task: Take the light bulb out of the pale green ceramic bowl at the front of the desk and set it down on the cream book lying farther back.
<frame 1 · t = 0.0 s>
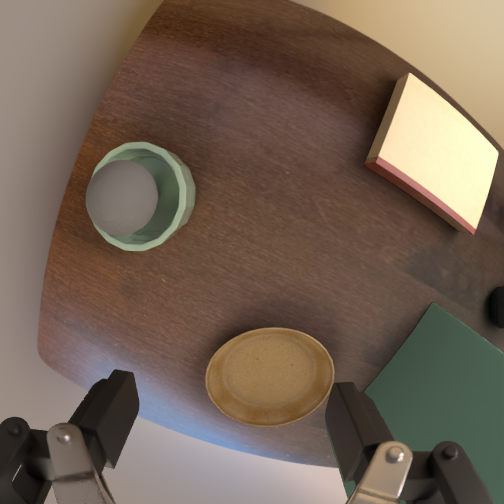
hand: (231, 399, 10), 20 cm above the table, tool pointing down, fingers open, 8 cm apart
plant saucer: (269, 370, 33), on the table
book: (434, 156, 28), on the table
box: (420, 391, 35), on the table
light bulb: (149, 195, 28), resting on bowl
bowl: (150, 195, 28), on the table
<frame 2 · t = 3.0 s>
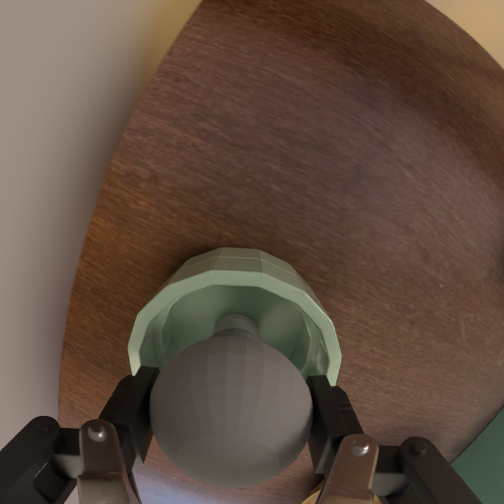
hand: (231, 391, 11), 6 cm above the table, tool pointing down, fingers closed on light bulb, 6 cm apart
box: (481, 457, 23), on the table
light bulb: (236, 328, 16), resting on bowl, touching gripper
bowl: (236, 326, 17), on the table
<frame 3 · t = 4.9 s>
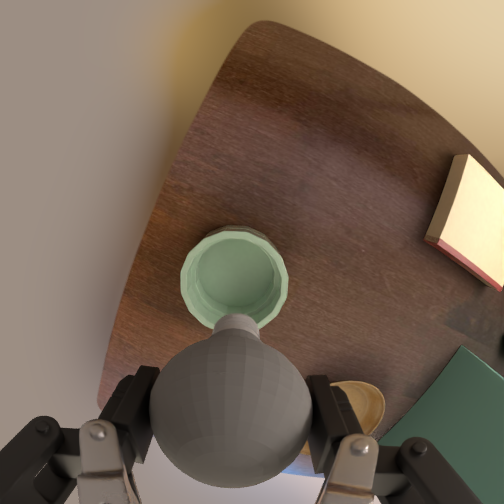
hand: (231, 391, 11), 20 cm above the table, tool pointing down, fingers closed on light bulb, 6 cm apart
plant saucer: (329, 410, 35), on the table
book: (476, 225, 30), on the table
box: (444, 413, 37), on the table
light bulb: (236, 328, 17), point 14 cm above the table, touching gripper
bowl: (235, 270, 30), on the table
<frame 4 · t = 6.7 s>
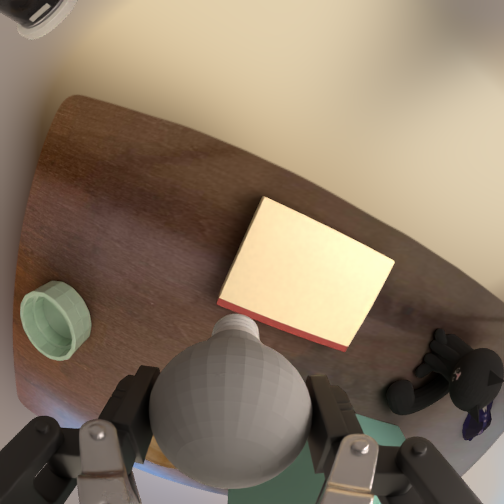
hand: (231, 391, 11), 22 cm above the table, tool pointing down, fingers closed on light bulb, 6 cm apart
figurine: (427, 366, 36), on the table
plant saucer: (169, 431, 38), on the table
book: (305, 274, 32), on the table
box: (314, 455, 40), on the table
light bulb: (235, 329, 17), point 16 cm above the table, touching gripper
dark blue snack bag: (476, 417, 41), on the table
bowl: (64, 312, 33), on the table
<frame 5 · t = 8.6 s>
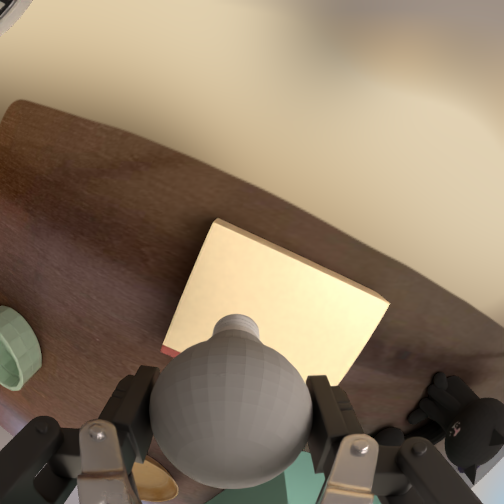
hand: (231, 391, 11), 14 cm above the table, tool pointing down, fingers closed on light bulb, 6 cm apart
figurine: (422, 410, 29), on the table
plant saucer: (133, 464, 31), on the table
book: (273, 317, 26), on the table
box: (291, 495, 33), on the table
light bulb: (236, 329, 17), point 9 cm above the table, touching gripper
bowl: (17, 339, 26), on the table
when the fingers open (9 cm above the table, at t = 10.5 s): light bulb stays where it is, resting on book.
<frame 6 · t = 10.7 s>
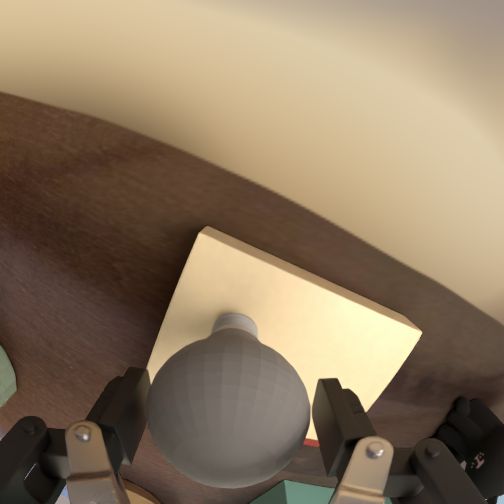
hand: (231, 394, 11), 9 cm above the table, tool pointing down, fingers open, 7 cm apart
figurine: (440, 436, 24), on the table
plant saucer: (122, 492, 25), on the table
book: (278, 349, 20), on the table
light bulb: (234, 328, 16), point 3 cm above the table, touching book
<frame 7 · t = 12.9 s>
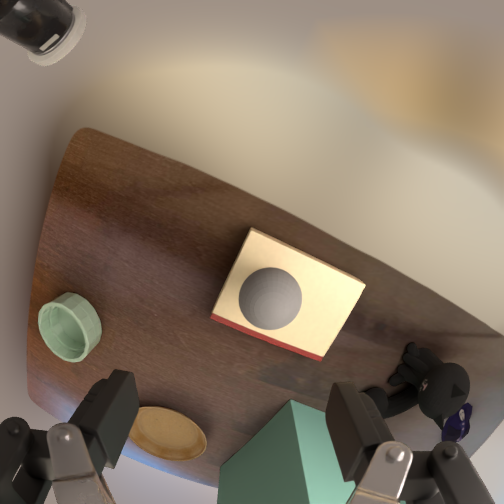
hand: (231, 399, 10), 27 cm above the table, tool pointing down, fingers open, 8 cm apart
figurine: (401, 376, 41), on the table
plant saucer: (167, 426, 43), on the table
book: (286, 294, 38), on the table
box: (297, 453, 45), on the table
light bulb: (266, 277, 34), point 3 cm above the table, touching book
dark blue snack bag: (455, 425, 46), on the table
bowl: (77, 320, 39), on the table
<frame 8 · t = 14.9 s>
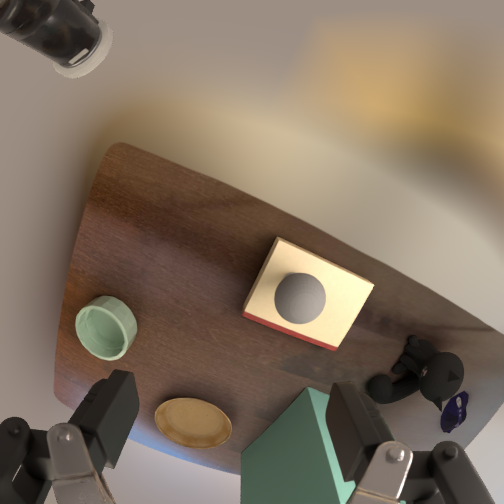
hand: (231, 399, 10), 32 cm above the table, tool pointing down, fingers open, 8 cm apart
figurine: (404, 365, 47), on the table
plant saucer: (194, 416, 49), on the table
book: (306, 293, 43), on the table
box: (311, 437, 51), on the table
light bulb: (291, 279, 40), point 3 cm above the table, touching book
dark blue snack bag: (453, 412, 52), on the table
bowl: (112, 321, 44), on the table
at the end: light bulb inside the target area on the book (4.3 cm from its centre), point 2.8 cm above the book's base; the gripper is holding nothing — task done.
